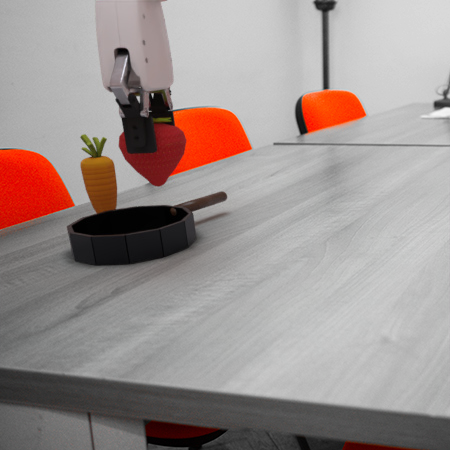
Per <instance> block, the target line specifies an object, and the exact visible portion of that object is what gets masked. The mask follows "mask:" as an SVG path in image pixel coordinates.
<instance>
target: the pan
mask: <svg viewBox="0 0 450 450" xmlns="http://www.w3.org/2000/svg"><path fill="white" fill-rule="evenodd" d="M227 200H228V194H227V192H225V191H222V190H221V191H218V192H214V193H211V194H208V195H204V196H201V197H198V198H194V199H191V200H188V201H184V202H181V203H178V204H174V205H169V204H153V205H152V204H151V205H136V206H134V205H133V206H128V207H122V208H116V209H114V210H108V211H104V212H100V213H93V214H90V215H86V216H83V217H80V218H79V219H76V220H75V221H73V222H71V223H69V224H68V225H66V230H67V235H68V241H69V245H70V250H71V254H72V258H73V260H74V261H75V262H76V263H83V264H85V265H92V266H117V265H118V266H119V265H130V264H131V265H132V264H136V263H142V262H146V261H147V262H148V261H153V260H156V259H162V258H166V257H168V256H171V255H173V254H176V253H178V252H181V251H184V250H186V249H188V248H189V247H190V246H191V245H192V244H193V243H194V242H195V241H196V240H197V232H196V225H195V217H194V212H197V211H199V210H202V209H206V208H209V207H212V206H215V205H217V204H218V205H219V204H221V203H223V202H226V201H227Z"/></svg>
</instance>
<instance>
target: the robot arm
mask: <svg viewBox="0 0 450 450" xmlns="http://www.w3.org/2000/svg"><path fill="white" fill-rule="evenodd" d="M94 1H95V2H94V8H95V9H94V12H95V15H94V16H95V17H94V19H95V32H96V43H97V51H98V57H99V66H100V73H101V75H100V76H101V81H102V85H103V87H104V89H105V90H106V91H107V92H109V93H113V95H114V97H115V98H114V99H115V102H116V104H117V106H118V114H119V118H120V119H121V124H122V125H121V126H122V130H123V131H124V137H125V143H126V149H127V152H128V153H129V154H141V153H155V152H156V151H157V143H156V136H155V130H154V123H153V118H171V119H168V120H172V121H171V122H162V123H163V124H167V125H172V126H176V122H175V115H174V104H173V101H172V90H171V86H172V85H173V84H174V68H173V60H172V52H171V45H170V40H169V36H168V30H167V25H166V19H165V15H164V11H163V10H164V9H163V6H162V2H163V3H164V2H167V1H168V0H94ZM152 94H153V95H152ZM137 97H139V99H138V98H137ZM123 131H122V132H123Z"/></svg>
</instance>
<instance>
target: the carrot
mask: <svg viewBox="0 0 450 450" xmlns="http://www.w3.org/2000/svg"><path fill="white" fill-rule="evenodd" d="M79 138H80V140H82V142H83V143H84V144H85V145H86V146H87V147H84V146H83V147H81V150H82V151H83V152H85V153H86V154H88V155H89V157H84V158H83V159H82V160H81V161H80V171H81V177H82V180H83V184H84V188H85V191H86V194H87V196H88V199H89V201H90V204H91V206H92V209H93V210H94V211H95V214H97V213H100V212H104V211H108V210H114V209H117V206H118V183H117V175H116V167H115V162H114V160H113V159H112V158H110V157H109V156H107V155H102V153H103V150H104V147H105V144H106V142H107V140H108V138H106V137H105V136H102V137H101V139H100V140H99V138H98V137H96V136H93V137H92V141H93V142H92V141H91V139H90V138H89V136H88V135H87V134H86V133H85V134H84V133H83V134H81V135H80V137H79Z"/></svg>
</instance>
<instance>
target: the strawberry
mask: <svg viewBox="0 0 450 450" xmlns="http://www.w3.org/2000/svg"><path fill="white" fill-rule="evenodd" d="M168 119H171V118H153V123H154V130H155V136H156V143H157V151H156V152H155V153H141V154H129V153H128V152H127V149H126V143H125V137H124V131H122V132H121V133H120V135H119V136H118V148H119V150H120V152H121V154H122V156H123V158H124V160H125V161H126V162H127V163H128V164H129V165H130V167H131V168H132V169H134V171H135V172H136V173H138V174H139V175H140V176H141V177H143V178H144V179H145V180H146V181H148V183H150V185H152V186H154V187H162V186H164V185H165V184H166V183H167V181H168V179H169V177H171V175H172V174H173V173H174V171H175V170H176V168H177V167H178V165H179V164H180V162H181V160H182V158H183V157H184V155H185V151H186V145H187V138H186V135H185V133H184V131H183V130H182V129H180V128H179V126H176V125H175V126H172V125H167V124H163V123H162V122H171V121H172V120H168Z"/></svg>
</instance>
